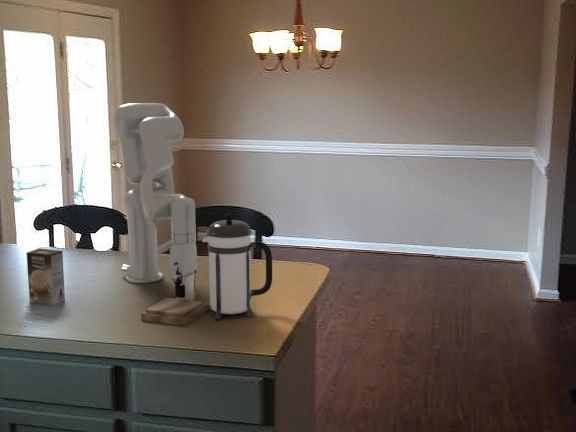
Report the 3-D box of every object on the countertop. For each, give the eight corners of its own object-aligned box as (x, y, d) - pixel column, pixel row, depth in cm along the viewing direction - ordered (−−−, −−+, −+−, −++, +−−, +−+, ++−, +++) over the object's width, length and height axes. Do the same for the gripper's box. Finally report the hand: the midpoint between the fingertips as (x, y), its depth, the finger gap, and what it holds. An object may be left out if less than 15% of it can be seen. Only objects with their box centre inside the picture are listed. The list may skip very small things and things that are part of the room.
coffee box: (28, 303, 214) (24, 252, 211) (42, 297, 220) (38, 247, 217) (53, 306, 211) (49, 254, 208) (66, 300, 217) (63, 250, 214)
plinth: (141, 320, 198) (140, 310, 197) (166, 305, 211) (166, 296, 210) (184, 325, 193) (184, 315, 192) (207, 310, 206) (207, 301, 205)
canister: (173, 300, 216) (172, 273, 214) (182, 295, 221) (181, 269, 219) (189, 302, 214) (188, 275, 212) (197, 297, 219) (196, 270, 217)
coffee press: (238, 325, 193) (237, 219, 187) (194, 315, 201) (191, 214, 196) (273, 309, 207) (273, 210, 202) (231, 300, 216) (229, 205, 210)
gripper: (186, 231, 223) (188, 286, 226) (158, 242, 207) (160, 301, 211) (207, 233, 220) (208, 288, 224) (180, 244, 205) (182, 303, 208)
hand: (185, 293), depth 217 cm, fingers closed on canister, 5 cm apart
